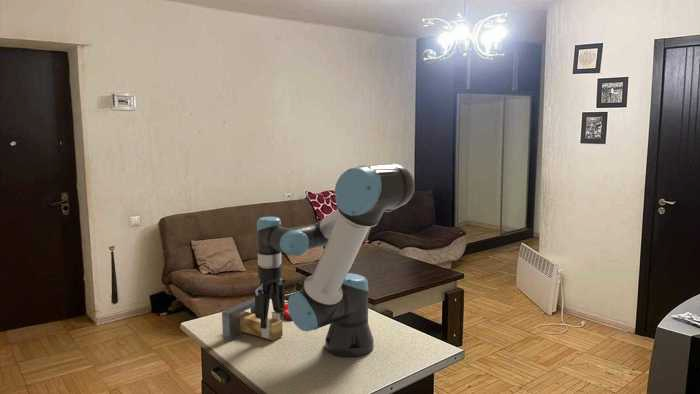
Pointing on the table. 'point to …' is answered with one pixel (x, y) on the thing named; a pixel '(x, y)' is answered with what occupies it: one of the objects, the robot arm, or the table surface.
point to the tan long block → (259, 325)
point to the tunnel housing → (235, 319)
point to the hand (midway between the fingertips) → (270, 334)
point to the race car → (286, 312)
